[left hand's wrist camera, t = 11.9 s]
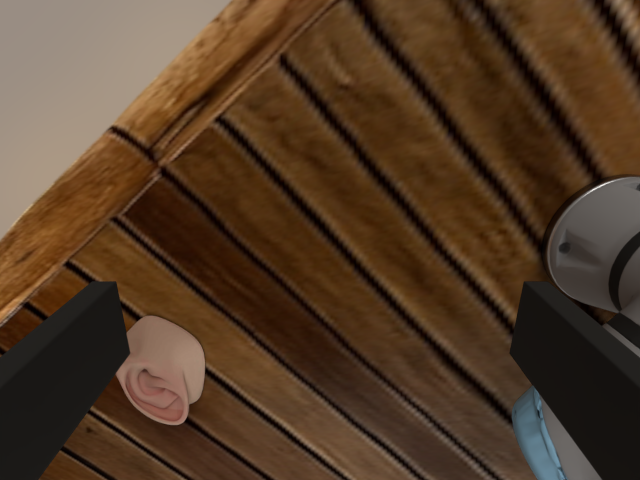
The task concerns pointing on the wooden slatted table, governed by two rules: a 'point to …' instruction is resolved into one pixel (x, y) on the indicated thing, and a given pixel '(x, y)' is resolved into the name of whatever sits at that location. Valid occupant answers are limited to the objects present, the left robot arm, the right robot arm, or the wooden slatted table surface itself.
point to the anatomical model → (162, 370)
